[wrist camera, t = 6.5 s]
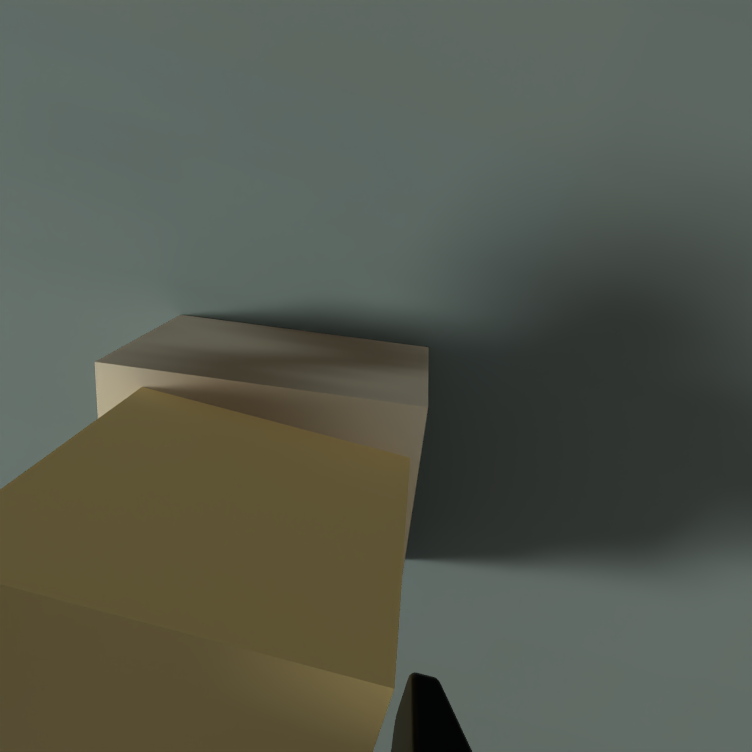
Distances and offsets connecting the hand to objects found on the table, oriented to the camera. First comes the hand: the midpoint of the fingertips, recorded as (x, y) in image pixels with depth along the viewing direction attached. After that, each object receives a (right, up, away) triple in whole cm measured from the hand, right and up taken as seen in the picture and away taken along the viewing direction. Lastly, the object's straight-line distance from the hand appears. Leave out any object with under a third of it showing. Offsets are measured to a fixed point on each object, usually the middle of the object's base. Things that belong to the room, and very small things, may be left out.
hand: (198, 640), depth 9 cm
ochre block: (0, +1, +3) cm, 3 cm away
